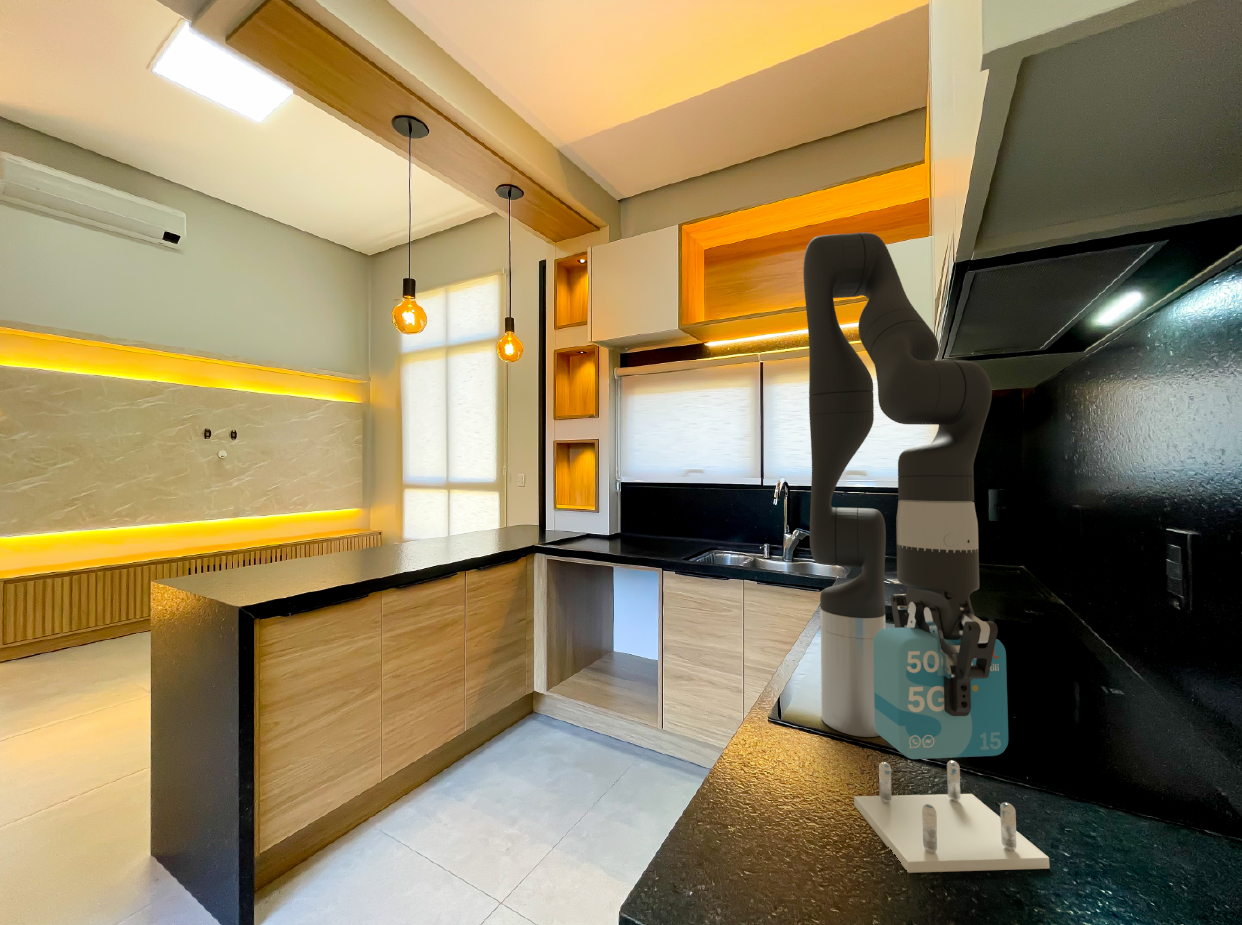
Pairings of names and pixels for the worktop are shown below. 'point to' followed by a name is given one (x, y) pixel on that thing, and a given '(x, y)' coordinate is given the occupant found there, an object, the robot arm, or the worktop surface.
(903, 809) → the tray
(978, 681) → the data package
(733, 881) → the worktop surface
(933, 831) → the guide pins
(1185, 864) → the worktop surface
